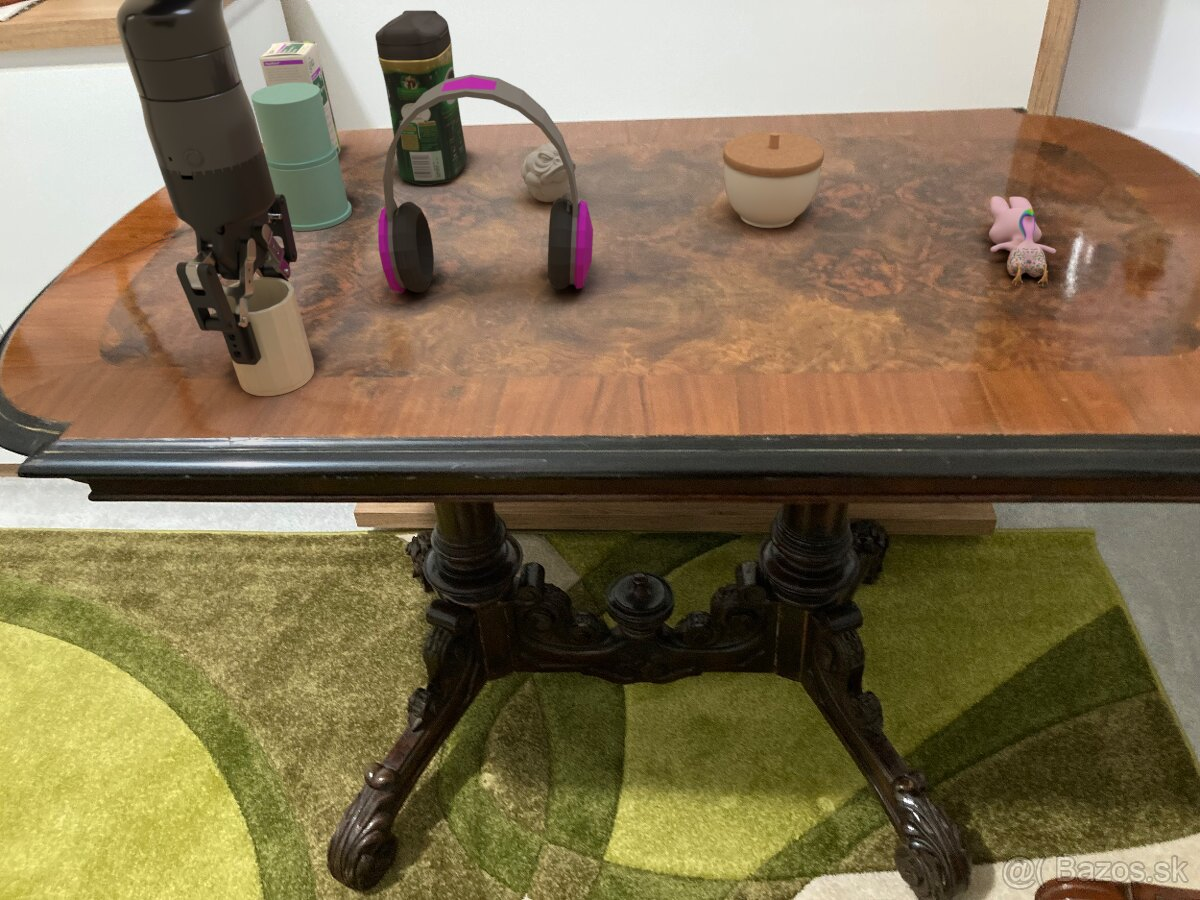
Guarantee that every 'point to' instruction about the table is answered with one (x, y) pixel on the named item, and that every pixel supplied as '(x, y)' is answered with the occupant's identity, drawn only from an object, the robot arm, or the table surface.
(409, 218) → the headphones
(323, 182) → the cup stack
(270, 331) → the cream cup
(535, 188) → the frog figurine
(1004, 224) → the rabbit figure
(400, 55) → the coffee jar
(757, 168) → the lidded sugar bowl
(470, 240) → the table surface
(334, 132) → the syrup box
